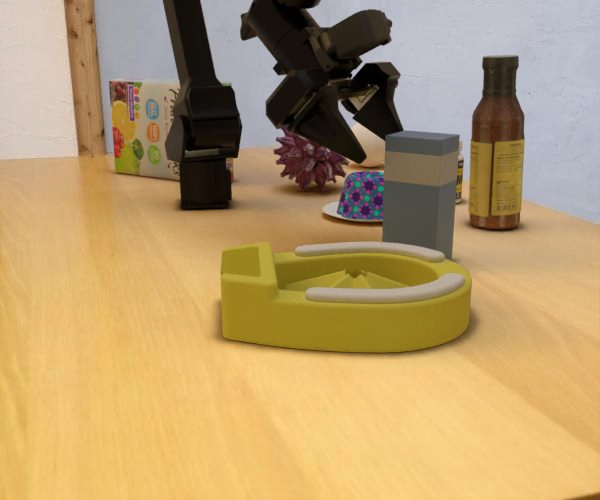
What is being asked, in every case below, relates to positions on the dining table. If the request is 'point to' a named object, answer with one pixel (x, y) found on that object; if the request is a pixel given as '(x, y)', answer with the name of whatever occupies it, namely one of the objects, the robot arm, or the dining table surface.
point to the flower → (308, 161)
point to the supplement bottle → (459, 174)
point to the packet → (420, 189)
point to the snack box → (145, 126)
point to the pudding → (360, 198)
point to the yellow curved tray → (343, 297)
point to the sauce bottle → (497, 148)
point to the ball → (370, 146)
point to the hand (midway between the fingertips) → (385, 154)
